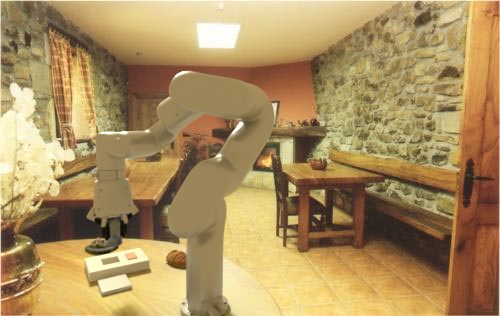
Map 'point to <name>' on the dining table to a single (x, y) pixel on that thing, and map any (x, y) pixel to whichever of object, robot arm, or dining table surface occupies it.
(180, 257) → the pastry
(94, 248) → the grey rounded lumpy piece
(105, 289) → the pad
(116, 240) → the peg
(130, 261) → the board
